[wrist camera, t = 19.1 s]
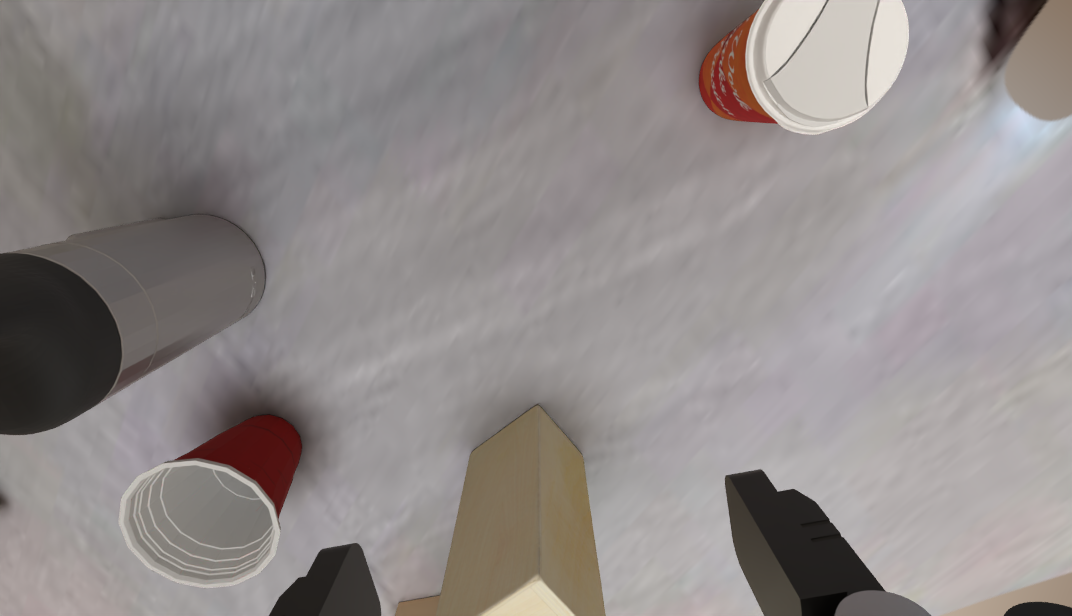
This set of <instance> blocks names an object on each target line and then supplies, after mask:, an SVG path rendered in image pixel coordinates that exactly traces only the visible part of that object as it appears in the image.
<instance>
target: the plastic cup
mask: <svg viewBox="0 0 1072 616" xmlns="http://www.w3.org/2000/svg"><path fill="white" fill-rule="evenodd" d="M301 449H302V444H301V440H300V436H299V434H298V433H297V431H296V430H295V428H294V427H293V426H292V425H291V424H290V423H288V422H287V421H285V420H284V419H283V418H279V417H276V416H272V415H260V416H256V417H252V418H250V419H248V420H246V421H244V422H242V423H240V424H238V425H237V426H235V427H233V428H231V429H229V430H227V431H225V432H223V433H221V434H219V435H217V436H216V437H214V438H212V439H211V440H209V441H207V442H206V443H204V444H202V445H201V446H199V447H197V448H196V449H194V450H192V451H190V452H189V453H187V454H185V455H183V456H181V457H179V458H177V459H175V460H173V461H167V462H165V463H163V464H161V465H159V466H157V467H155V468H153V469H151V470H149V471H147V472H145V473H143V474H141V475H139V476H137V477H136V479H135V480H134V481H133V483H132V484H131V485H130V487H129V488H128V489H127V491H126V492H125V493H124V495H123V496H122V497H121V505H120V514H119V525H120V528H121V530H122V533H123V535H124V538H125V541H126V543H127V546H128V548H129V549H130V550H131V551H132V552H133V553H134V554H135V555H136V556H137V557H138V558H139V559H140V560H141V561H142V562H143V563H144V564H145V565H146V566H147V568H149V569H151V570H153V571H155V572H157V573H158V574H160V575H162V576H164V577H166V578H168V579H170V580H172V581H173V582H176V583H181V584H186V585H191V586H196V587H201V588H214V587H224V586H234V585H236V584H239V583H241V582H243V581H245V580H247V579H249V578H251V577H253V576H256V575H258V574H259V573H260V572H261V571H262V570H263V569H264V567H265V566H266V565H267V564H268V563H269V562H270V561H271V559H272V558H273V557H274V556H275V553H276V549H277V544H278V540H279V536H280V530H281V527H280V523H279V520H278V519H279V515H280V512H281V509H282V507H283V504H284V501H285V499H286V496H287V494H288V491H289V488H290V486H291V483H292V480H293V475H294V473H295V470H296V468H297V466H298V463H299V460H300V455H301Z"/></svg>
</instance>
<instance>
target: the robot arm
mask: <svg viewBox="0 0 1072 616" xmlns="http://www.w3.org/2000/svg"><path fill="white" fill-rule="evenodd" d="M264 285H265V271H264V265H263V262H262V259H261V256H260V253H259V252H258V250H257V248H256V246H255V245H254V243H253V242H252V241H251V240H250V238H249V237H248V236H247V235H246V234H245V233H244V232H243V231H242V230H240V229H239V228H238V227H237V226H235V225H234V224H232V223H230V222H228V221H226V220H224V219H221V218H218V217H215V216H212V215H202V214H197V215H188V216H183V217H178V218H173V219H168V220H165V219H162V218H156V219H151V220H146V221H141V222H136V223H130V224H125V225H120V226H115V227H110V228H105V229H100V230H94V231H89V232H84V233H79V234H74V235H71V236H69V237H68V238H67V240H65V241H60V242H56V243H51V244H46V245H41V246H37V247H32V248H27V249H23V250H18V251H13V252H8V253H3V254H0V434H6V435H27V434H34V433H39V432H43V431H47V430H50V429H53V428H56V427H58V426H60V425H62V424H64V423H66V422H68V421H70V420H72V419H74V418H76V417H77V416H79V415H81V414H82V413H84V412H86V411H87V410H89V409H91V408H92V407H94V406H96V405H98V404H99V403H101V402H103V401H104V400H106V399H108V398H110V397H111V396H113V395H115V394H116V393H118V392H120V391H121V390H123V389H125V388H126V387H128V386H130V385H131V384H133V383H135V382H136V381H138V380H140V379H141V378H143V377H145V376H146V375H148V374H150V373H151V372H153V371H155V370H156V369H158V368H160V367H162V366H163V365H165V364H167V363H168V362H170V361H172V360H173V359H175V358H177V357H178V356H180V355H182V354H183V353H185V352H187V351H189V350H190V349H192V348H194V347H195V346H197V345H199V344H200V343H202V342H204V341H205V340H207V339H209V338H211V337H212V336H214V335H216V334H217V333H219V332H221V331H222V330H224V329H226V328H227V327H229V326H231V325H232V324H234V323H235V322H237V321H239V320H240V319H242V318H244V317H246V316H247V315H248V314H249V313H250V312H251V311H252V310H253V309H254V308H255V307H256V306H257V304H258V302H259V301H260V299H261V296H262V293H263V291H264ZM725 487H726V494H727V502H728V509H729V516H730V524H731V531H732V538H733V543H734V547H735V551H736V555H737V558H738V561H739V564H740V566H741V568H742V571H743V573H744V575H745V577H746V579H747V581H748V583H749V585H750V587H751V589H752V591H753V593H754V595H755V598H756V600H757V602H758V604H759V606H760V608H761V610H762V612H763V614H764V616H931V615H930V614H929V613H928V612H927V611H926V610H925V609H924V608H922V607H921V606H919V605H918V604H916V603H915V602H913V601H911V600H909V599H907V598H905V597H903V596H900V595H897V594H894V593H890V592H886V591H885V590H884V589H883V587H882V586H881V585H880V584H879V582H878V581H877V580H876V578H875V577H874V576H873V575H872V573H871V572H870V571H869V569H868V568H867V567H866V566H865V564H864V563H863V562H862V561H861V559H860V558H859V557H858V555H857V554H856V553H855V552H854V550H853V549H852V548H851V546H850V545H849V544H848V543H847V541H846V540H845V539H844V538H843V537H841V534H840V532H839V531H838V530H837V529H836V527H835V526H834V525H833V524H832V523H830V521H829V518H828V517H827V516H826V515H825V513H824V512H823V511H822V509H821V508H820V507H819V506H818V504H817V503H816V502H815V501H813V500H812V499H810V498H808V497H807V496H805V495H803V494H802V493H800V492H798V491H797V490H795V489H791V490H785V491H779V492H777V490H776V489H775V487H774V486H773V484H772V483H771V482H770V480H769V479H768V477H767V476H766V474H765V473H764V472H763V471H762V470H761V469H759V470H754V471H748V472H743V473H737V474H732V475H726V476H725ZM269 616H381V607H380V601H379V598H378V595H377V592H376V589H375V586H374V583H373V580H372V577H371V574H370V571H369V568H368V565H367V562H366V559H365V556H364V553H363V550H362V548H361V546H360V545H359V544H357V543H353V544H347V545H342V546H336V547H331V548H325V549H322V550H321V551H320V552H319V553H318V555H317V557H316V559H315V561H314V562H313V564H312V566H311V568H310V570H309V572H308V574H307V576H306V577H300V578H298V579H297V580H296V581H295V582H294V583H293V584H292V585H291V586H290V587H289V588H288V589H287V590H286V591H285V592H284V593H283V594H282V595H281V596H280V597H279V599H278V601H277V602H276V604H275V606H274V608H273V609H272V611H271V613H270V615H269ZM1004 616H1072V608H1070V607H1067V606H1063V605H1059V604H1054V603H1048V602H1027V603H1022V604H1018V605H1016V606H1013V607H1012V608H1010V609H1009V610H1008V611H1007V612H1006V613H1005V614H1004Z"/></svg>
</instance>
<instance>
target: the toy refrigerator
mask: <svg viewBox="0 0 1072 616" xmlns="http://www.w3.org/2000/svg"><path fill="white" fill-rule="evenodd" d="M436 616H606V615H605V609H604V601H603V594H602V587H601V580H600V573H599V566H598V559H597V553H596V546H595V540H594V533H593V526H592V518H591V511H590V505H589V497H588V490H587V483H586V476H585V468H584V460H583V456H582V455H581V453H580V452H579V451H578V450H577V448H576V447H575V446H574V445H573V443H572V442H571V441H570V440H569V439H568V438H567V437H566V435H565V434H564V433H563V432H562V431H561V430H560V429H559V427H558V426H557V425H556V424H555V423H554V422H553V421H552V419H551V418H550V417H549V416H548V415H547V414H546V413H545V411H544V410H543V409H542V408H541V407H540V406H538V405H537V406H535V407H533V408H532V409H530V410H529V411H527V412H526V413H524V414H523V415H522V416H520V417H519V418H518V419H516V420H515V421H513V422H512V423H511V424H509V425H508V426H507V427H505V428H504V429H502V430H501V431H500V432H498V433H497V434H496V435H494V436H493V437H491V438H490V439H488V440H487V441H486V442H484V443H483V444H482V445H480V446H479V447H478V448H476V449H475V450H474V451H473V452H472V453H471V455H470V458H469V462H468V467H467V472H466V477H465V481H464V486H463V491H462V495H461V500H460V505H459V510H458V515H457V520H456V524H455V529H454V534H453V539H452V544H451V548H450V553H449V557H448V562H447V567H446V571H445V576H444V581H443V585H442V590H441V594H440V599H439V603H438V608H437V613H436Z"/></svg>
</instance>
